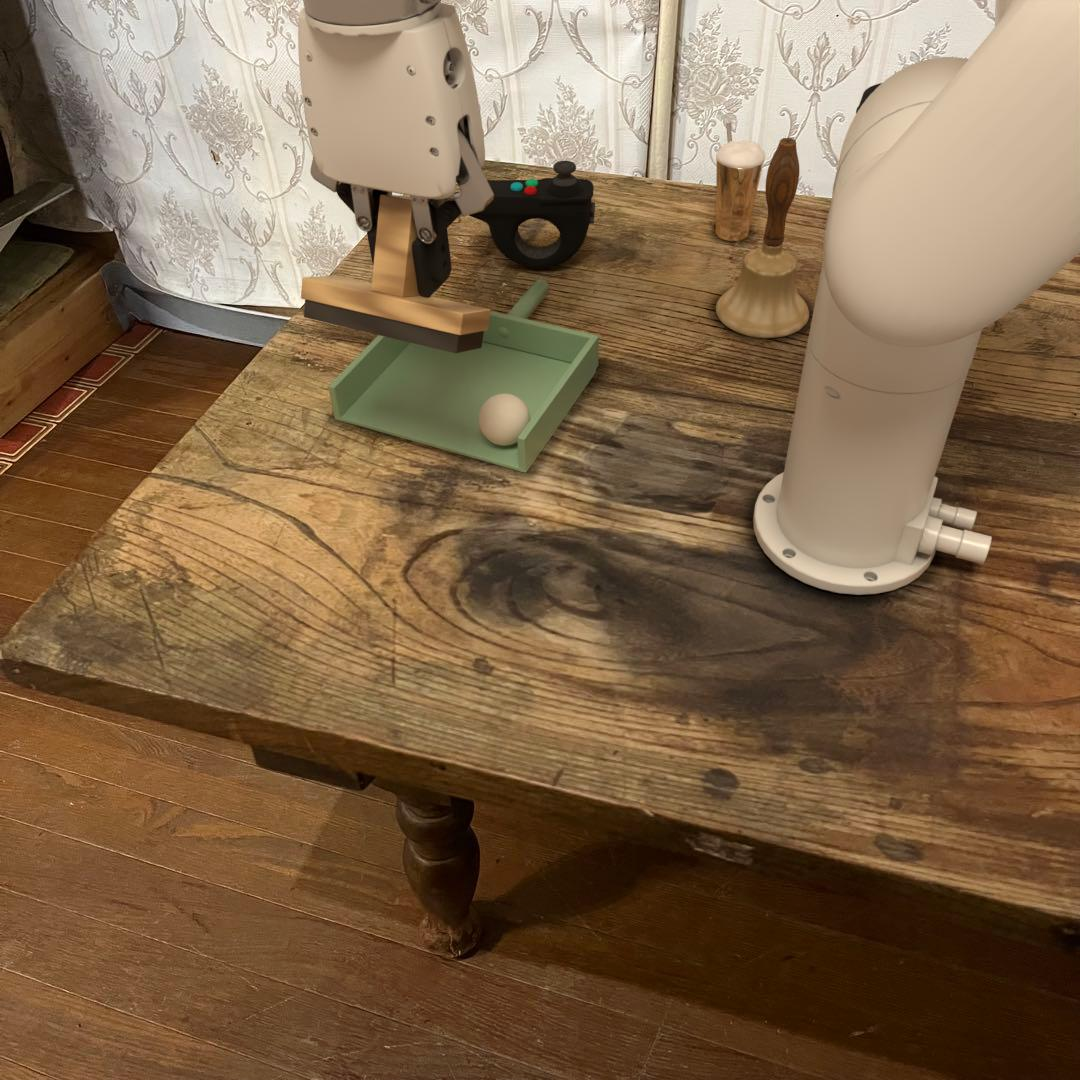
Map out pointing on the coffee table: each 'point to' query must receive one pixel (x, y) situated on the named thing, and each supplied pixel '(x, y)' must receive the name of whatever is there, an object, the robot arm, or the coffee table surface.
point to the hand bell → (769, 264)
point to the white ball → (503, 419)
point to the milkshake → (736, 186)
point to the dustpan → (471, 385)
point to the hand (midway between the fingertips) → (414, 280)
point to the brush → (395, 293)
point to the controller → (540, 215)
